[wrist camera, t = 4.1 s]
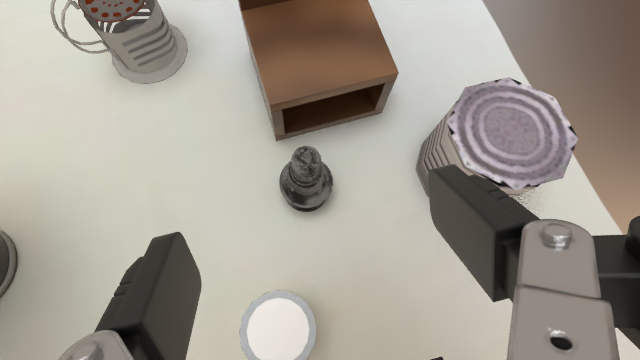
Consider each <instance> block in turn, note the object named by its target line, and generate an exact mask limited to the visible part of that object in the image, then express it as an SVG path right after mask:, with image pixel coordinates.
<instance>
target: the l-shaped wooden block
mask: <svg viewBox="0 0 640 360" xmlns="http://www.w3.org/2000/svg"><path fill="white" fill-rule="evenodd" d="M238 2H239V7H240V11H241V15H242V20H243V24H244V28H245V33H246V37H247V41H248V46H249V50H250V54H251V58H252V61H253V64H254V68H255V71H256V74H257V78H258V81H259V84H260V88H261V91H262V95H263V98H264V101H265V105H266V108H267V111H268V115H269V118H270V121H271V125H272V128H273V132H274V135H275V138H276V141H277V140H281V139H285V138H289V137H292V136H296V135H300V134H304V133H307V132H311V131H315V130H318V129H322V128H326V127H330V126H333V125H337V124H341V123H345V122H348V121H352V120H356V119H360V118H363V117H367V116H371V115H375V114H378V113H381V112H382V110H383V108H384V105H385V103H386V101H387V98H388V96H389V94H390V91H391V89H392V87H393V85H394V82H395V80H396V78H397V75H398V73H399V72H398V70H397V67H396V65H395V63H394V60H393V58H392V56H391V53H390V51H389V49H388V46H387V44H386V42H385V39H384V37H383V35H382V32H381V30H380V27H379V25H378V23H377V20H376V18H375V16H374V13H373V11H372V9H371V6H370V4H369V2H368V0H238Z"/></svg>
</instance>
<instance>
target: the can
mask: <svg viewBox="0 0 640 360" xmlns="http://www.w3.org/2000/svg"><path fill="white" fill-rule="evenodd" d="M577 140H578V137H577V135H576V133H575V132H574V130H573V128H572V127H571V125H570V123H569V121H568V120H567V118H566V117H565V115H564V113H563V111H562V109H561V108H560V106H559V104H558V103H557V101H556V99H555V97H553V96H551V95H548V94H546V93H544V92H541V91H539V90H537V89H534V88H532V87H530V86H527V85H525V84H523V83H520V82H518V81H516V80H513V79H511V78H509V77H508V78H504V79H499V80H495V81H491V82H487V83H481V84H478V85H474V86H469V87H465V89H464V91H463V93H462V94H461V96H460V98H459V100H458V101H457V102H456V103H455V104H454V105H453V107H452V108H451V109H450V110H449V112H448V113H447V114H446V115H445V117H444V118H443V119H442V120H441V122H440V123H439V124H438V125H437V127H436V128H435V129H434V130H433V131H432V133H431V134H430V135H429V136H428V138H427V139H426V140H425V141H424V143H423V144H422V146H421V150H420V154H419V158H418V163H417V167H416V171H417V173H418V176H419V178H420V180H421V183H422V185H423V187H424V189H425V192H426V194H427V196H429V182H428V173H429V170H430V169H434V168H438V167H442V166H446V165H450V164H455V165H456V166H457V167H459V168H460V169H461V170H462V171H463V172H465V173H466V174H467V175H468V176H469V175H473V174H474V175H477V176H479V177H482V178H485V179H488V180H490V181H491V182H492V183H494V184H495V185H496V186H498V187H499V188H500V190H503V191H504V192H505V193H507V194H508V195H509V197H512V198H513V197H515V196H518V195H520V194H522V193H524V192H527V191H529V190H531V189H533V188H536V187H538V186H539V185H540V184H542V183H546V182H549V181H553V180H557V179H561V178H563V177H564V174H565V171H566V169H567V166H568V163H569V161H570V158H571V155H572V153H573V150H574V148H575V145H576V142H577Z"/></svg>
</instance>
